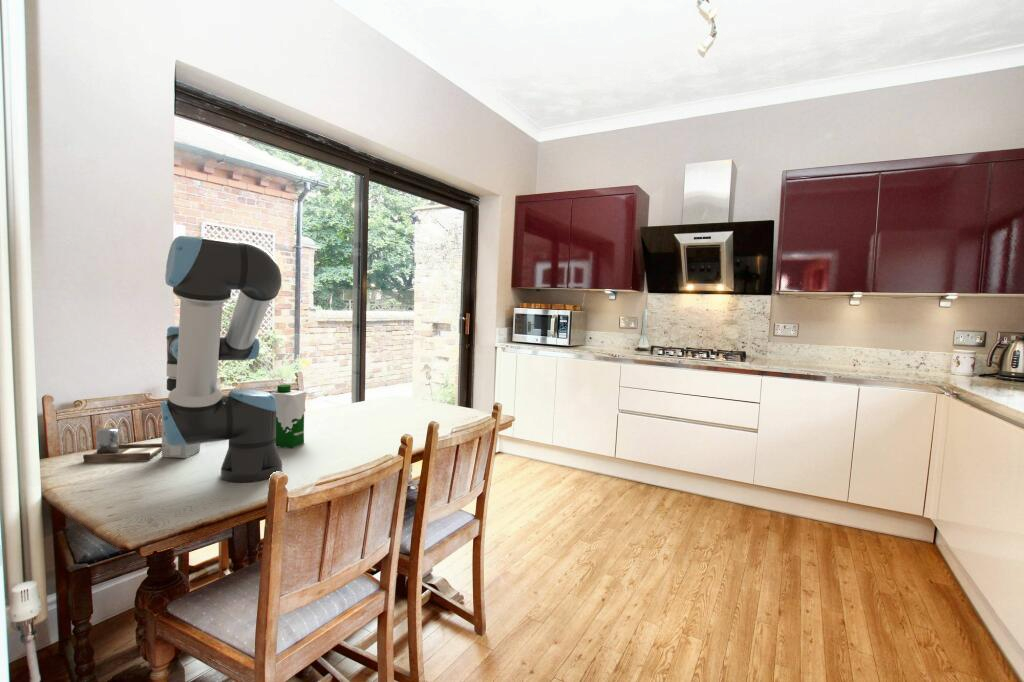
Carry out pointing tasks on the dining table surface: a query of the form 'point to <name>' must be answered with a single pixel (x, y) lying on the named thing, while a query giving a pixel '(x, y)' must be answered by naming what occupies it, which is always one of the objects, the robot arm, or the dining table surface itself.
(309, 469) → the dining table surface
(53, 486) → the dining table surface
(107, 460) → the wooden tray
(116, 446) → the grey rounded cube
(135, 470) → the dining table surface
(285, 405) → the milk carton
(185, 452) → the supplement box
